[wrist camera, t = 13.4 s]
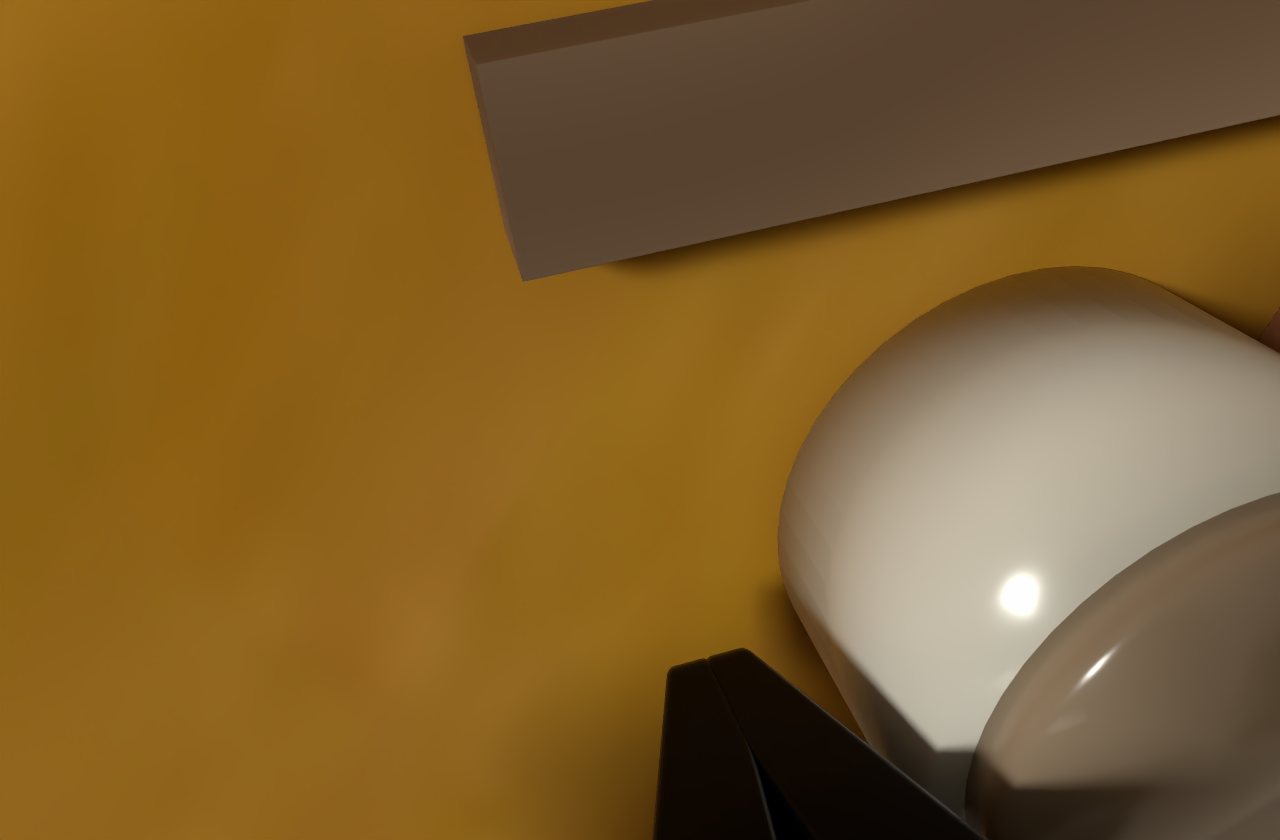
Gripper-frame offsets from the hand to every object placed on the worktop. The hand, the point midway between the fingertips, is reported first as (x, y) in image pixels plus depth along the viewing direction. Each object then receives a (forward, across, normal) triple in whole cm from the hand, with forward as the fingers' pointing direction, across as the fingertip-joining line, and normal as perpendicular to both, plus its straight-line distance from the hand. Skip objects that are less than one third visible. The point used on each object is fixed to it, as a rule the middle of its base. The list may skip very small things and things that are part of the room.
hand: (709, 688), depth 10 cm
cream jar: (+2, -4, 0) cm, 4 cm away
